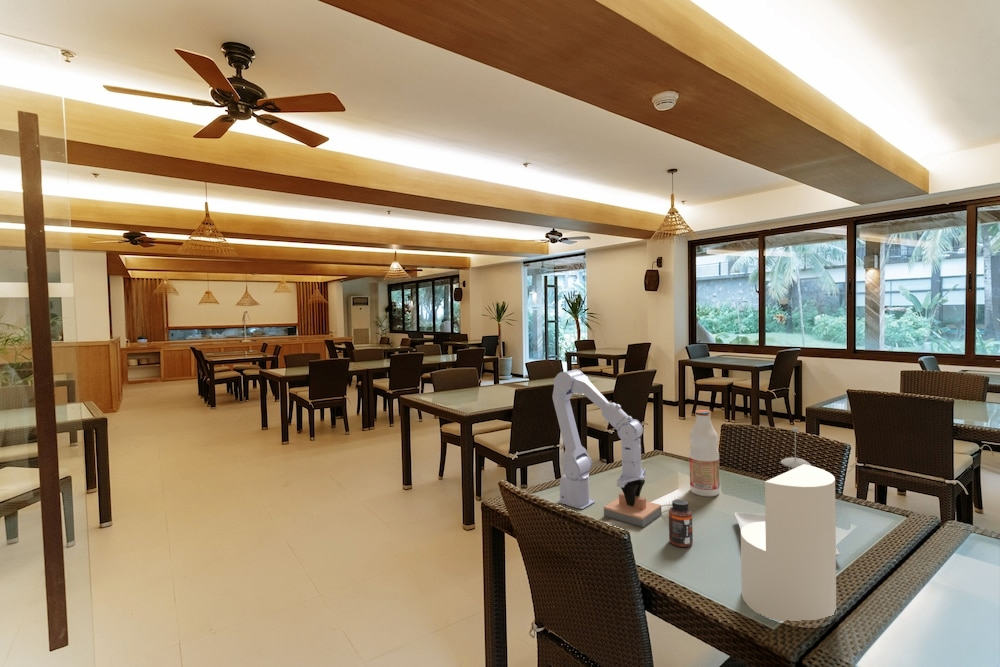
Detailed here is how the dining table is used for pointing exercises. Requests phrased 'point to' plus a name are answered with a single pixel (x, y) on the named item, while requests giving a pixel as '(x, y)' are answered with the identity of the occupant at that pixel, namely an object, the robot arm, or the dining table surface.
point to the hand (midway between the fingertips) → (632, 503)
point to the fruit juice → (704, 456)
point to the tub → (632, 518)
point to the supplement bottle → (680, 524)
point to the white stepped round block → (792, 548)
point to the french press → (794, 461)
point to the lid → (633, 507)
